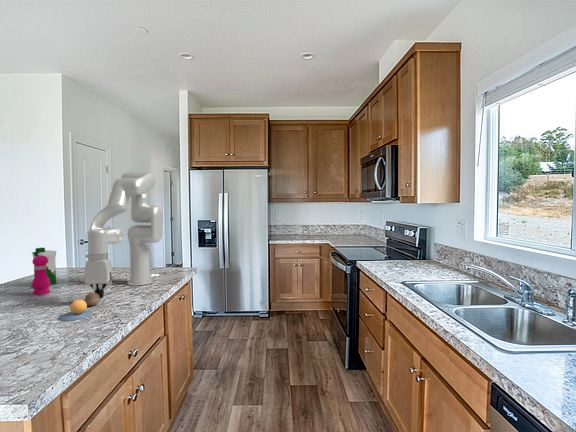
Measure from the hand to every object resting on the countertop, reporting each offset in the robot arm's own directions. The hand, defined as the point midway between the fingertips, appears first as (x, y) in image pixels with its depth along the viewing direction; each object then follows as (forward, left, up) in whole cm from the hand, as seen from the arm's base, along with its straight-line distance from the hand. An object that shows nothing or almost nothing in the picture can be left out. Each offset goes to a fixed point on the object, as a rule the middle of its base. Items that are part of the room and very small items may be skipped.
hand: (99, 298), depth 143 cm
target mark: (+12, +14, -2) cm, 18 cm away
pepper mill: (+17, -34, -2) cm, 38 cm away
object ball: (+10, +12, +1) cm, 16 cm away
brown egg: (+4, +4, +1) cm, 6 cm away
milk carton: (+13, -54, -2) cm, 56 cm away
